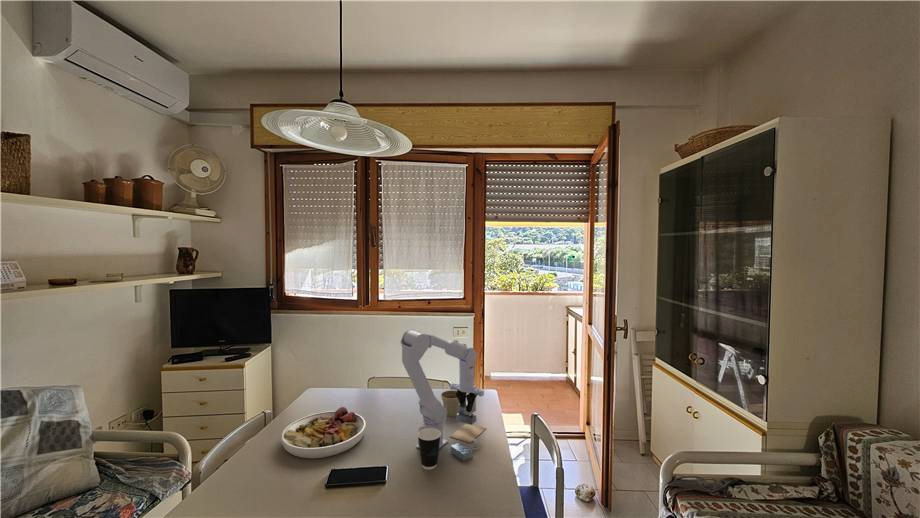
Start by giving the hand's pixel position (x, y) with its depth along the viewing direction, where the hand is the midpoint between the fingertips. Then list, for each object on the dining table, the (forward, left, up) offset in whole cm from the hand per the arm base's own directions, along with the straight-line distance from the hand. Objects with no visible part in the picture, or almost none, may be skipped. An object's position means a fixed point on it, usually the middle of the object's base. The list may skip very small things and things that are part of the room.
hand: (466, 410), depth 152 cm
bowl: (-34, +42, -9) cm, 55 cm away
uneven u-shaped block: (0, -2, -2) cm, 3 cm away
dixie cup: (-27, -1, -8) cm, 29 cm away
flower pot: (+10, +14, -8) cm, 19 cm away
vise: (-14, -8, -8) cm, 18 cm away
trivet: (-1, -1, -8) cm, 9 cm away
